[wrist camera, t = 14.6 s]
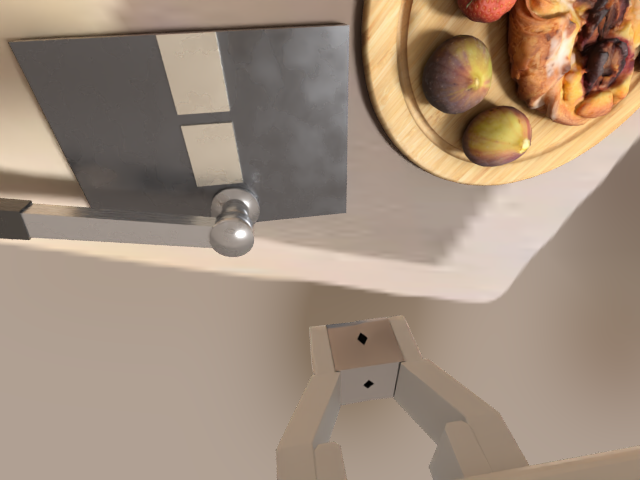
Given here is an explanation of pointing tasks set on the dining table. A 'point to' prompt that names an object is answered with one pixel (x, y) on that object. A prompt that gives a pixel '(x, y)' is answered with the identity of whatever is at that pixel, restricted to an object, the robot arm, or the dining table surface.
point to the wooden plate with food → (500, 81)
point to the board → (200, 118)
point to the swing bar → (126, 226)
